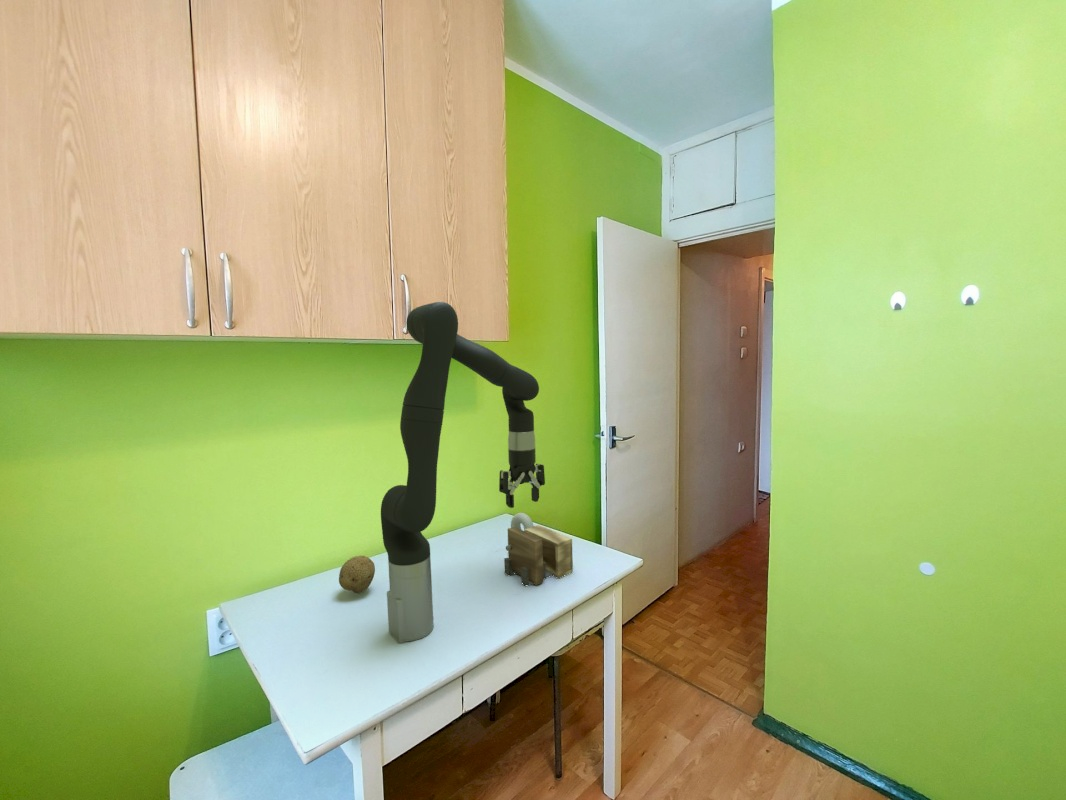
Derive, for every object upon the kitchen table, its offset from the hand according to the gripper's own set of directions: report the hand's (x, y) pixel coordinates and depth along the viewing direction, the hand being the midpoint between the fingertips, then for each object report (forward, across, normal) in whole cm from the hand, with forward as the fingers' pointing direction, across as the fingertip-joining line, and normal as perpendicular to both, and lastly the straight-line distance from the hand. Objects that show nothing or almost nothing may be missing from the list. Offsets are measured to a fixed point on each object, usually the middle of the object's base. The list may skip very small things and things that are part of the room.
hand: (523, 504), depth 129 cm
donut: (+21, +15, +20) cm, 32 cm away
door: (+20, 0, 0) cm, 20 cm away
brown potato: (+21, -39, +22) cm, 50 cm away
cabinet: (+21, +4, 0) cm, 21 cm away
